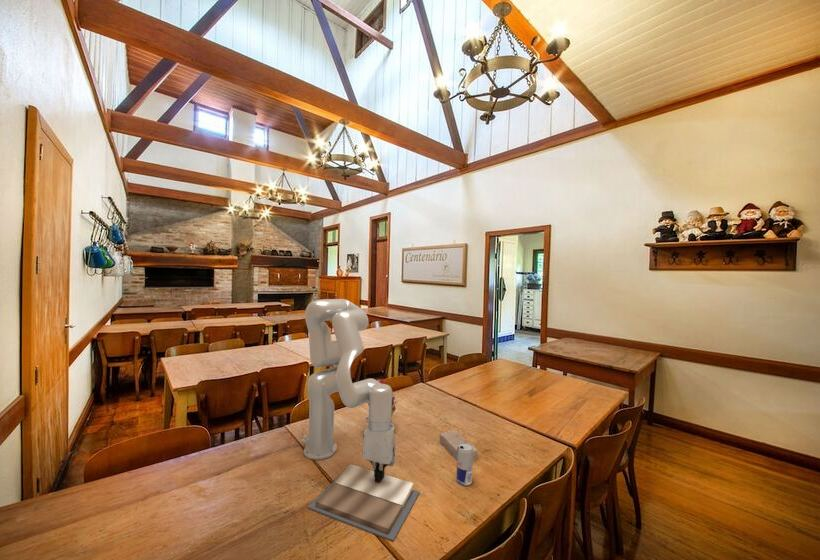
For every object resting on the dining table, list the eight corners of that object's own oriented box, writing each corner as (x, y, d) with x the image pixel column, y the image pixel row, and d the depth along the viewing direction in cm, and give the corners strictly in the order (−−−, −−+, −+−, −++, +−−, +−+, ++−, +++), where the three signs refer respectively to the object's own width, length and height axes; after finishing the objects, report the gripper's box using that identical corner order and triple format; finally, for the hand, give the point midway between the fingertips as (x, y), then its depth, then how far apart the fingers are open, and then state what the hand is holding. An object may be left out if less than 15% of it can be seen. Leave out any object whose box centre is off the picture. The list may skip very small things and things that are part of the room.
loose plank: (334, 486, 99) (334, 482, 99) (350, 467, 107) (350, 463, 107) (402, 509, 90) (402, 505, 90) (413, 487, 98) (413, 483, 98)
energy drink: (454, 476, 107) (455, 442, 107) (469, 476, 107) (470, 442, 107) (458, 486, 102) (459, 450, 102) (474, 486, 102) (475, 450, 102)
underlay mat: (307, 508, 90) (307, 506, 90) (346, 470, 108) (346, 468, 108) (393, 541, 79) (393, 539, 79) (419, 493, 98) (419, 491, 98)
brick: (478, 460, 118) (479, 448, 118) (460, 465, 114) (460, 452, 114) (455, 439, 133) (455, 429, 133) (438, 443, 129) (439, 432, 129)
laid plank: (315, 506, 90) (315, 501, 90) (333, 487, 98) (334, 483, 98) (388, 534, 81) (388, 528, 81) (401, 511, 89) (401, 506, 89)
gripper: (354, 424, 99) (353, 481, 99) (395, 433, 93) (395, 493, 93) (365, 415, 106) (365, 468, 106) (405, 422, 100) (404, 478, 100)
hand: (379, 479), depth 99 cm, fingers closed
